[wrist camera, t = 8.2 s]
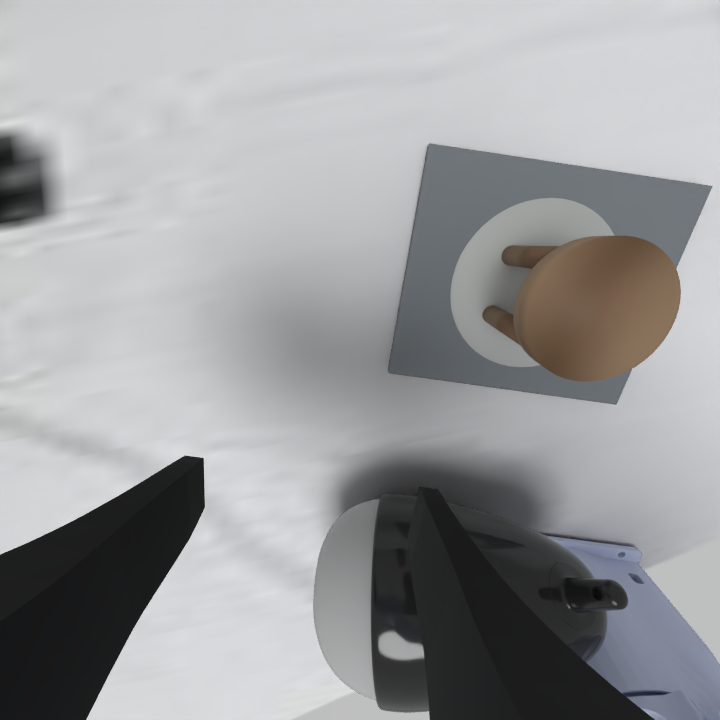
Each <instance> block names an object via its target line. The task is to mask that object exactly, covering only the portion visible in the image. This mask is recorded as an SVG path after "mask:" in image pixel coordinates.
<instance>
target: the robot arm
mask: <svg viewBox="0 0 720 720" xmlns="http://www.w3.org/2000/svg"><path fill="white" fill-rule="evenodd" d="M204 508H205V499H204V458H199V457H191V456H184V457H182V458H180V459H178V460H177V461H175V462H173V463H172V464H170V465H169V466H167V467H165V468H164V469H162V470H160V471H159V472H157V473H156V474H154V475H152V476H151V477H149V478H148V479H146V480H144V481H143V482H141V483H139V484H138V485H136V486H134V487H133V488H131V489H129V490H128V491H126V492H124V493H123V494H121V495H119V496H118V497H116V498H114V499H112V500H110V501H109V502H107V503H105V504H103V505H101V506H100V507H98V508H96V509H94V510H92V511H91V512H89V513H87V514H85V515H83V516H82V517H80V518H78V519H76V520H74V521H72V522H70V523H68V524H66V525H64V526H62V527H60V528H58V529H56V530H54V531H52V532H50V533H48V534H46V535H44V536H41V537H39V538H37V539H35V540H33V541H31V542H29V543H26V544H24V545H22V546H20V547H17V548H15V549H13V550H10V551H8V552H5V553H3V554H1V555H0V720H86V719H87V717H88V715H89V713H90V711H91V709H92V707H93V705H94V703H95V701H96V699H97V697H98V695H99V693H100V691H101V689H102V687H103V685H104V683H105V681H106V679H107V677H108V675H109V673H110V671H111V669H112V668H113V666H114V664H115V662H116V660H117V658H118V656H119V654H120V652H121V651H122V649H123V647H124V645H125V643H126V641H127V639H128V637H129V635H130V634H131V632H132V630H133V628H134V626H135V625H136V623H137V621H138V620H139V618H140V616H141V615H142V613H143V611H144V610H145V608H146V606H147V605H148V603H149V602H150V600H151V599H152V597H153V595H154V594H155V592H156V591H157V589H158V588H159V586H160V585H161V583H162V581H163V580H164V578H165V577H166V575H167V574H168V572H169V570H170V569H171V567H172V566H173V564H174V563H175V561H176V559H177V558H178V556H179V555H180V553H181V551H182V550H183V548H184V547H185V545H186V543H187V542H188V540H189V539H190V537H191V535H192V533H193V531H194V529H195V527H196V525H197V523H198V521H199V518H200V516H201V514H202V512H203V510H204ZM547 537H548V538H550V539H552V540H554V541H555V542H557V543H559V544H560V545H562V546H563V547H565V548H567V549H568V550H569V551H571V552H572V553H573V554H575V555H576V556H577V557H578V558H579V559H580V560H581V561H582V562H583V563H584V564H585V565H586V566H587V568H588V569H589V570H590V572H591V573H592V575H593V576H594V578H595V579H611V580H614V581H616V582H618V583H619V584H620V585H621V586H622V587H623V588H624V590H625V591H626V593H627V596H628V605H627V607H626V608H625V609H623V610H614V611H607V619H608V624H607V632H606V637H605V640H604V643H603V645H602V647H601V648H600V650H599V651H598V652H597V654H596V655H595V656H594V657H593V658H592V659H591V660H590V661H588V662H587V663H586V662H585V661H584V660H583V659H582V658H580V657H579V656H578V655H577V654H576V653H575V652H574V651H573V650H572V649H571V648H569V647H568V646H567V645H566V644H565V643H564V642H563V641H562V640H561V639H560V638H559V637H558V636H557V635H556V634H555V633H554V632H553V631H552V630H551V629H550V628H549V627H548V626H547V625H546V624H545V623H544V622H543V621H541V620H540V618H539V617H538V616H537V615H536V614H535V613H534V612H533V611H532V610H531V609H530V608H529V607H528V606H527V605H526V604H525V603H524V602H523V601H522V600H521V598H520V597H519V596H518V595H517V594H516V593H515V592H514V591H513V590H512V589H511V588H510V586H509V585H508V584H507V583H506V582H505V581H504V580H503V578H502V577H501V576H500V575H499V574H498V572H497V571H496V570H495V569H494V567H493V566H492V565H491V564H490V562H489V561H488V560H487V559H486V557H485V556H484V555H483V554H482V552H481V551H480V550H479V548H478V547H477V546H476V544H475V543H474V541H473V540H472V539H471V537H470V536H469V535H468V533H467V532H466V530H465V529H464V528H463V526H462V525H461V523H460V522H459V520H458V519H457V517H456V516H455V514H454V513H453V511H452V510H451V508H450V507H449V505H448V504H447V502H446V501H445V499H444V498H443V496H442V495H441V493H440V492H439V491H438V489H432V488H424V487H419V491H418V495H417V499H416V503H415V507H414V511H413V515H412V520H411V524H410V528H409V532H408V543H409V561H410V571H411V577H412V583H413V589H414V596H415V602H416V608H417V614H418V620H419V626H420V632H421V638H422V644H423V650H424V658H425V666H426V677H427V689H428V701H429V714H430V720H720V664H719V663H718V661H717V660H716V658H715V656H714V655H713V653H712V652H711V651H710V649H709V648H708V647H707V646H706V644H705V643H704V642H703V641H702V639H700V637H699V636H698V635H697V633H696V632H695V631H694V630H693V629H692V628H691V626H690V625H689V624H688V623H687V622H686V620H685V619H684V618H683V617H682V615H681V614H680V613H679V612H678V611H677V609H676V608H675V607H674V606H673V605H672V603H671V602H670V601H669V600H668V599H667V597H666V596H665V595H664V594H663V593H662V591H661V590H660V589H659V588H658V587H657V585H656V584H655V583H654V582H653V581H652V579H651V578H650V577H649V576H648V575H647V573H646V572H645V571H644V570H643V569H642V567H641V566H640V565H639V564H638V562H639V560H640V559H641V556H642V553H641V552H640V551H639V550H638V549H637V548H635V547H628V546H621V545H613V544H605V543H598V542H590V541H583V540H575V539H567V538H560V537H552V536H547Z"/></svg>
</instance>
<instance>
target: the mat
mask: <svg viewBox="0 0 720 720" xmlns="http://www.w3.org/2000/svg"><path fill="white" fill-rule="evenodd" d="M711 188H712V186H708V185H701V184H695V183H688V182H681V181H675V180H668V179H661V178H655V177H648V176H641V175H635V174H628V173H622V172H615V171H608V170H602V169H595V168H588V167H582V166H575V165H568V164H562V163H555V162H549V161H542V160H535V159H529V158H522V157H515V156H509V155H502V154H495V153H489V152H482V151H476V150H469V149H462V148H456V147H449V146H442V145H436V144H429V145H428V147H427V153H426V158H425V164H424V170H423V175H422V181H421V187H420V192H419V198H418V204H417V209H416V215H415V221H414V226H413V232H412V238H411V243H410V249H409V254H408V260H407V266H406V271H405V277H404V283H403V288H402V294H401V300H400V305H399V311H398V317H397V322H396V328H395V334H394V339H393V345H392V350H391V356H390V362H389V367H388V372H389V373H392V374H399V375H407V376H414V377H421V378H428V379H435V380H443V381H450V382H457V383H464V384H472V385H479V386H486V387H493V388H500V389H508V390H515V391H522V392H529V393H536V394H544V395H551V396H558V397H565V398H572V399H580V400H587V401H594V402H601V403H608V404H617V402H618V400H619V397H620V395H621V393H622V391H623V388H624V386H625V384H626V381H627V379H628V377H629V375H630V372H631V370H632V369H630V370H629V371H627V372H625V373H622V374H620V375H618V376H615V377H612V378H609V379H605V380H600V381H591V382H580V381H572V380H568V379H565V378H562V377H559V376H557V375H555V374H553V373H552V372H550V371H548V370H547V369H546V368H544V367H543V366H541V365H540V364H539V363H537V362H536V361H534V360H533V359H532V358H531V357H530V356H529V355H528V354H527V353H526V352H525V351H524V350H523V348H522V347H521V346H520V345H519V344H517V343H516V342H514V341H513V340H511V339H510V338H508V337H507V336H506V335H504V334H503V333H501V332H500V331H498V330H497V329H495V328H494V327H492V326H491V325H490V324H488V323H487V322H485V321H484V320H483V317H482V313H483V311H484V309H485V308H486V307H488V306H492V305H494V306H497V307H499V308H501V309H503V310H505V311H507V312H509V313H511V314H513V311H514V305H515V301H516V297H517V294H518V292H519V289H520V287H521V285H522V283H523V281H524V280H525V278H526V276H527V275H528V274H529V272H530V271H531V269H529V268H523V267H517V266H510V265H506V264H505V263H504V262H503V261H502V258H501V256H502V252H503V250H504V249H505V248H506V247H508V246H511V245H520V246H561V245H563V244H565V243H568V242H570V241H573V240H576V239H580V238H584V237H591V236H633V237H638V238H641V239H644V240H647V241H649V242H651V243H653V244H655V245H656V246H658V247H659V248H660V249H662V250H663V251H664V252H665V253H666V254H667V255H668V256H669V258H670V259H671V261H672V262H673V264H674V266H675V268H677V266H678V263H679V261H680V259H681V256H682V254H683V252H684V250H685V247H686V245H687V243H688V241H689V238H690V236H691V234H692V231H693V229H694V227H695V225H696V222H697V220H698V218H699V216H700V213H701V211H702V209H703V207H704V204H705V202H706V200H707V197H708V195H709V193H710V191H711Z"/></svg>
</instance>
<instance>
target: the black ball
mask: <svg viewBox="0 0 720 720" xmlns="http://www.w3.org/2000/svg"><path fill="white" fill-rule="evenodd" d="M416 499H417V496H412V495H404V494H383V495H382V496H381V497H380V499H374V500H369V501H366V502H362V503H360V504H358V505H355V506H354V507H352V508H350V509H349V510H347V511H346V512H344V513H343V514H342V515H341V516H340V517H339V518H338V519H337V520H336V521H335V523H334V524H333V525H332V527H331V529H330V530H329V532H328V534H327V536H326V538H325V540H324V542H323V545H322V547H321V551H320V554H319V558H318V563H317V569H316V576H315V584H314V600H313V611H314V623H315V629H316V634H317V638H318V641H319V645H320V648H321V650H322V653H323V655H324V657H325V659H326V661H327V663H328V665H329V666H330V668H331V669H332V671H333V672H334V673H335V674H336V676H337V677H338V678H339V679H340V680H341V681H342V682H343V683H344V684H346V685H347V686H348V687H349V688H351V689H352V690H354V691H356V692H357V693H359V694H361V695H364V696H365V697H368V698H371V699H374V700H376V701H377V704H378V707H379V708H380V709H381V710H385V711H391V712H404V713H405V712H406V713H407V712H409V713H411V712H427V711H429V701H428V689H427V677H426V666H425V658H424V650H423V644H422V638H421V632H420V626H419V620H418V614H417V608H416V602H415V596H414V589H413V583H412V577H411V571H410V561H409V543H408V532H409V528H410V524H411V520H412V515H413V511H414V507H415V503H416ZM447 504H448V505H449V507H450V508H451V510H452V511H453V513H454V514H455V516H456V517H457V519H458V520H459V522H460V523H461V525H462V526H463V528H464V529H465V530H466V532H467V533H468V535H469V536H470V537H471V539H472V540H473V541H474V543H475V544H476V546H477V547H478V548H479V550H480V551H481V552H482V554H483V555H484V556H485V557H486V559H487V560H488V561H489V562H490V564H491V565H492V566H493V567H494V569H495V570H496V571H497V572H498V574H499V575H500V576H501V577H502V578H503V580H504V581H505V582H506V583H507V584H508V585H509V586H510V588H511V589H512V590H513V591H514V592H515V593H516V594H517V595H518V596H519V597H520V598H521V600H522V601H523V602H524V603H525V604H526V605H527V606H528V607H529V608H530V609H531V610H532V611H533V612H534V613H535V614H536V615H537V616H538V617H539V618H540V620H541V621H543V622H544V623H545V624H546V625H547V626H548V627H549V628H550V629H551V630H552V631H553V632H554V633H555V634H556V635H557V636H558V637H559V638H560V639H561V640H562V641H563V642H564V643H565V644H566V645H567V646H568V647H569V648H571V649H572V650H573V651H574V652H575V653H576V654H577V655H578V656H579V657H580V658H582V659H583V660H584V661H585V662H586V663H587V662H588V661H590V660H591V659H592V658H593V657H594V656H595V655H596V654H597V652H598V651H599V650H600V648H601V647H602V645H603V643H604V640H605V637H606V632H607V624H608V619H607V611H614V610H623V609H625V608H626V607H627V605H628V596H627V593H626V591H625V590H624V588H623V587H622V586H621V585H620V584H619V583H618V582H616V581H614V580H611V579H595V578H594V576H593V575H592V573H591V572H590V570H589V569H588V568H587V566H586V565H585V564H584V563H583V562H582V561H581V560H580V559H579V558H578V557H577V556H576V555H575V554H573V553H572V552H571V551H569V550H568V549H567V548H565V547H563V546H562V545H560V544H559V543H557V542H555V541H554V540H552V539H550V538H548V537H547V536H545V535H543V534H541V533H539V532H537V531H535V530H532V529H530V528H528V527H525V526H523V525H521V524H518V523H516V522H513V521H510V520H507V519H504V518H501V517H498V516H495V515H492V514H489V513H485V512H482V511H479V510H475V509H472V508H468V507H465V506H461V505H457V504H453V503H449V502H447Z"/></svg>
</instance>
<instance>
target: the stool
mask: <svg viewBox="0 0 720 720" xmlns="http://www.w3.org/2000/svg"><path fill="white" fill-rule="evenodd" d="M501 258H502V261H503V262H504V263H505V264H506V265H510V266H517V267H523V268H529V269H531V271H530V272H529V274H528V275H527V276H526V278H525V280H524V281H523V283H522V285H521V287H520V289H519V292H518V294H517V297H516V301H515V305H514V311H513V314H511V313H509V312H507V311H505V310H503V309H501V308H499V307H497V306H494V305H492V306H488V307H486V308H485V309H484V311H483V313H482V317H483V320H484V321H485V322H487V323H488V324H490V325H491V326H492V327H494V328H495V329H497V330H498V331H500V332H501V333H503V334H504V335H506V336H507V337H508V338H510V339H511V340H513V341H514V342H516V343H517V344H519V345H520V346H521V347H522V348H523V350H524V351H525V352H526V353H527V354H528V355H529V356H530V357H531V358H532V359H533V360H534V361H536V362H537V363H539V364H540V365H541V366H543V367H544V368H546V369H547V370H548V371H550V372H552V373H553V374H555V375H557V376H559V377H562V378H565V379H568V380H572V381H580V382H591V381H600V380H605V379H609V378H612V377H615V376H618V375H620V374H622V373H625V372H627V371H629V370H630V369H632V368H634V367H636V366H637V365H638V364H640V363H641V362H643V361H644V360H645V359H646V358H648V357H649V356H650V355H651V354H652V353H653V352H654V351H655V350H656V349H657V348H658V347H659V346H660V344H661V343H662V342H663V340H664V339H665V338H666V336H667V334H668V333H669V331H670V329H671V328H672V325H673V323H674V321H675V319H676V316H677V312H678V309H679V304H680V293H681V289H680V280H679V277H678V273H677V270H676V268H675V266H674V264H673V262H672V261H671V259H670V258H669V256H668V255H667V254H666V253H665V252H664V251H663V250H662V249H660V248H659V247H658V246H656V245H655V244H653V243H651V242H649V241H647V240H644V239H641V238H638V237H633V236H591V237H584V238H580V239H576V240H573V241H570V242H568V243H565V244H563V245H561V246H520V245H511V246H508V247H506V248H505V249H504V250H503V252H502V256H501Z"/></svg>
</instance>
